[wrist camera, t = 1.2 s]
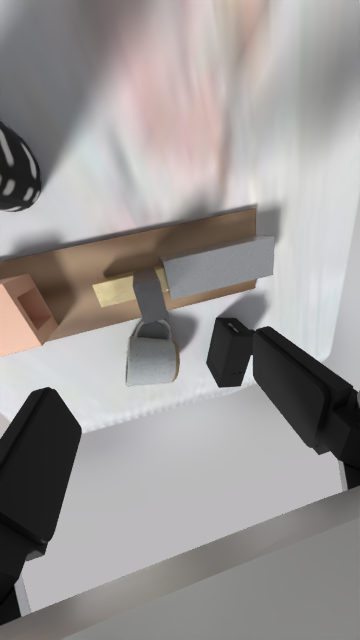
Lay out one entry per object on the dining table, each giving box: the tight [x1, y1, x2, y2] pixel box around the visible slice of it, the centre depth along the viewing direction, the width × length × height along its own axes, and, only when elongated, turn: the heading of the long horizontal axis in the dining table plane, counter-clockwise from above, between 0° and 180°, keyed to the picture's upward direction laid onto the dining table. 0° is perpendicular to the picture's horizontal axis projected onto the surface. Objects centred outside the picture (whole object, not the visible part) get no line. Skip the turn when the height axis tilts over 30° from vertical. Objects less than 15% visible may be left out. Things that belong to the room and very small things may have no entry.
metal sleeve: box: [159, 235, 275, 300], centre depth 26 cm, size 5×15×5 cm, turn 101°
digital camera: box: [206, 318, 256, 388], centre depth 34 cm, size 10×5×7 cm, turn 173°
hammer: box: [92, 264, 169, 324], centre depth 23 cm, size 4×22×10 cm, turn 101°
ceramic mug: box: [126, 319, 180, 387], centre depth 30 cm, size 11×8×8 cm
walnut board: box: [0, 208, 256, 342], centre depth 28 cm, size 12×37×1 cm, turn 101°
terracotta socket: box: [0, 273, 58, 357], centre depth 23 cm, size 8×5×6 cm, turn 11°
